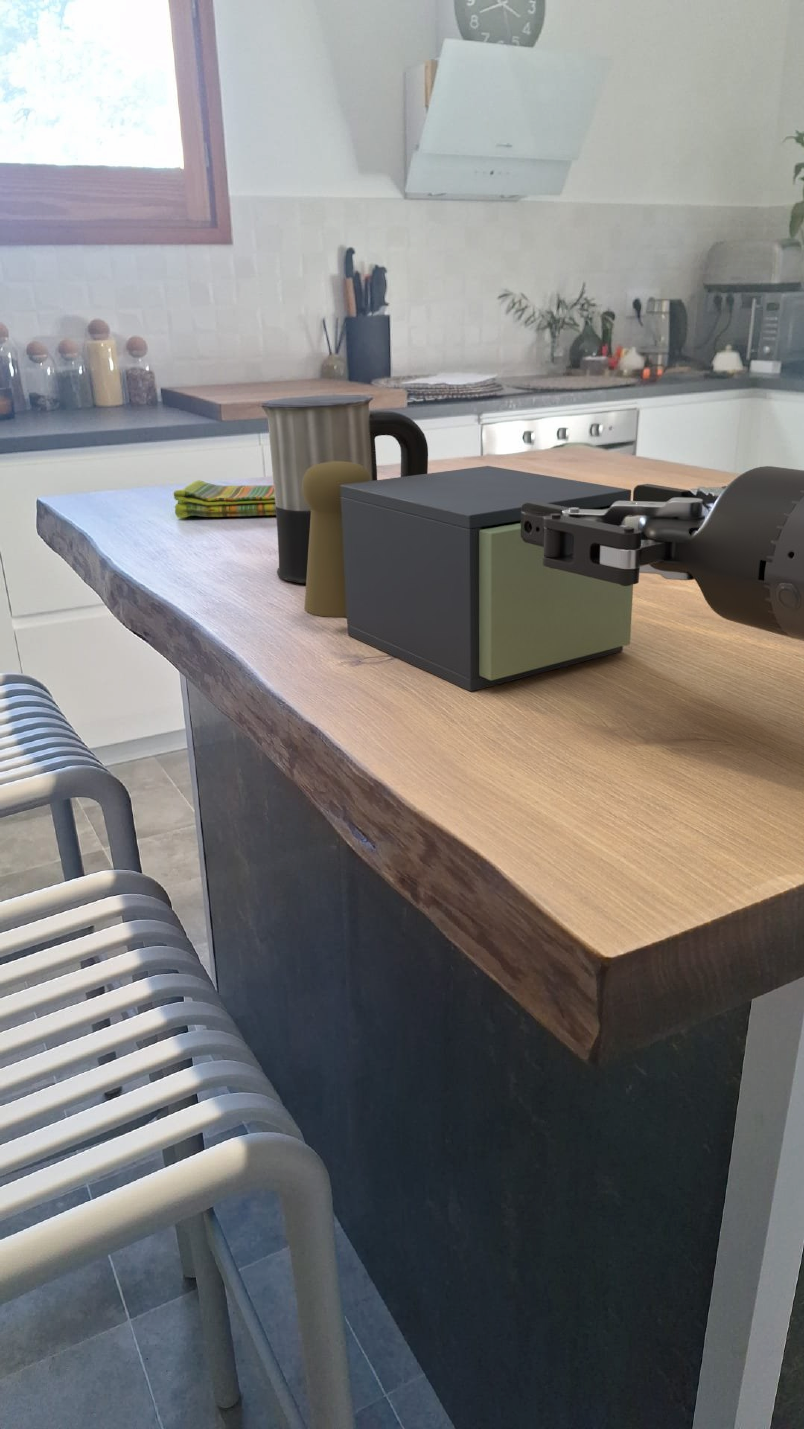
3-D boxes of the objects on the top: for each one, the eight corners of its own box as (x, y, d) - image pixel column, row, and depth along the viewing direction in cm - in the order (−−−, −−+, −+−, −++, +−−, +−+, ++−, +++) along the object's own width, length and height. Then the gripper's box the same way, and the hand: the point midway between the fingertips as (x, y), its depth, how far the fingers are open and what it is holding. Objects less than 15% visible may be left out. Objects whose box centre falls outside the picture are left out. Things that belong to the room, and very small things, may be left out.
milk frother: (306, 592, 84) (294, 405, 78) (226, 559, 96) (211, 395, 91) (446, 566, 91) (444, 393, 86) (355, 538, 103) (349, 385, 98)
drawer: (689, 664, 62) (702, 508, 58) (546, 705, 56) (550, 535, 53) (500, 601, 76) (501, 473, 73) (371, 629, 71) (365, 491, 67)
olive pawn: (295, 616, 77) (285, 469, 73) (314, 595, 83) (305, 457, 79) (373, 617, 76) (367, 468, 72) (387, 596, 82) (382, 456, 78)
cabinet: (623, 651, 67) (631, 489, 63) (470, 692, 61) (469, 515, 57) (487, 605, 79) (488, 465, 75) (347, 635, 72) (339, 484, 69)
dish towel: (196, 497, 129) (193, 471, 128) (477, 488, 129) (477, 462, 128) (172, 520, 115) (169, 492, 114) (488, 510, 115) (488, 482, 114)
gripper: (934, 460, 48) (674, 433, 61) (731, 495, 41) (484, 456, 54) (909, 613, 51) (665, 556, 63) (715, 671, 44) (484, 595, 56)
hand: (582, 511), depth 58 cm, fingers open, 8 cm apart
